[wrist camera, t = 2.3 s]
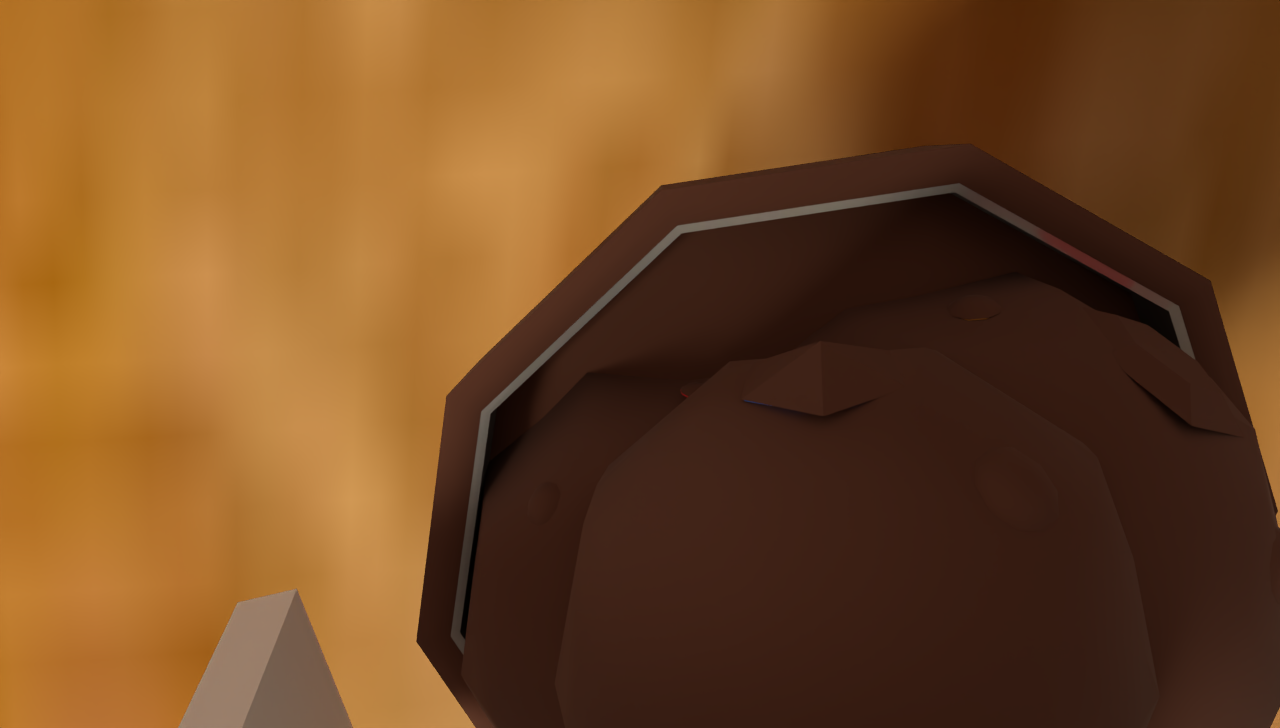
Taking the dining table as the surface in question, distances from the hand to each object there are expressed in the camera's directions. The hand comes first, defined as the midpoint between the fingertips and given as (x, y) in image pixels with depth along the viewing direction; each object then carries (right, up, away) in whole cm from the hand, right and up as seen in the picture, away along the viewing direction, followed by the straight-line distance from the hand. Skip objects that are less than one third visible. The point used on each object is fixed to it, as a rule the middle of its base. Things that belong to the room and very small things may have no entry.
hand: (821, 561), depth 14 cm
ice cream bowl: (0, +3, +9) cm, 10 cm away
